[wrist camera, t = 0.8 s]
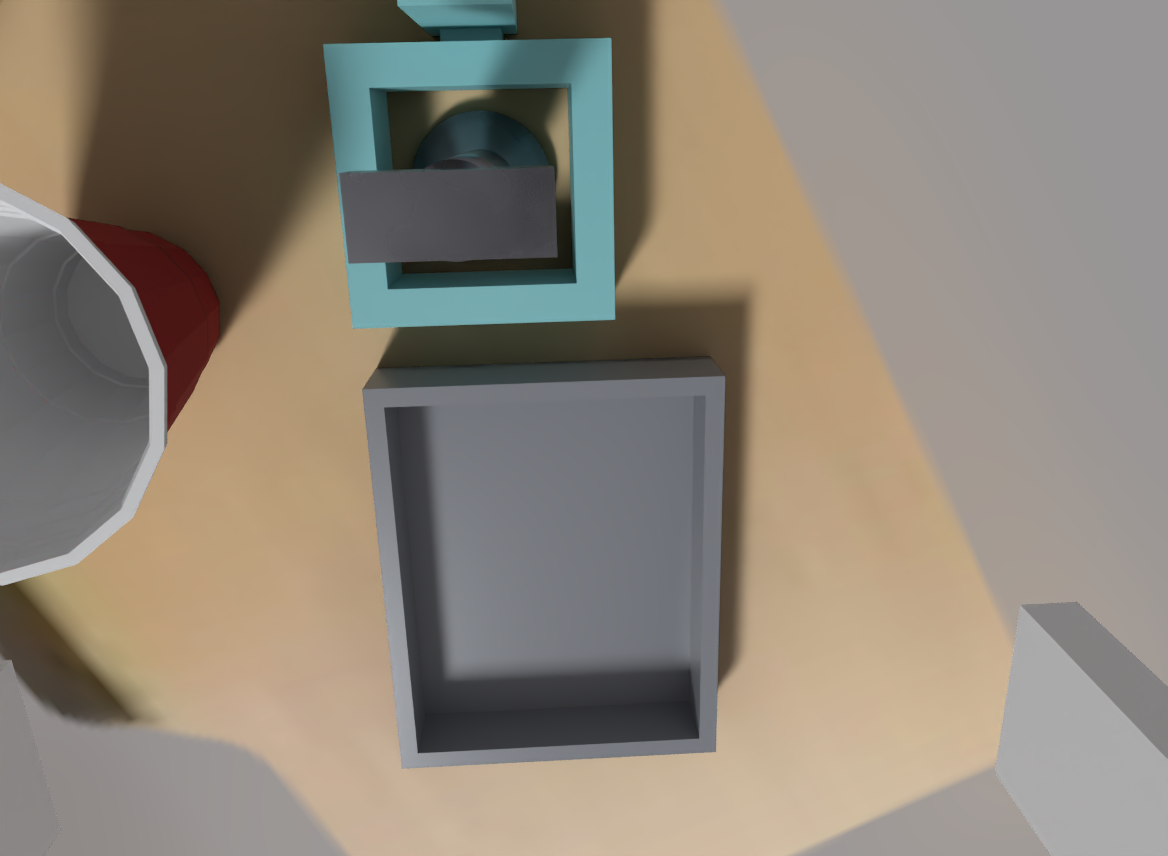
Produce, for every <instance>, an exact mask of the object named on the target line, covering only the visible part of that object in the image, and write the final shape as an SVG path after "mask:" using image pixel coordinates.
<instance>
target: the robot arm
mask: <svg viewBox="0 0 1168 856" xmlns="http://www.w3.org/2000/svg"><path fill="white" fill-rule="evenodd" d="M995 774H996V775H997V777H998V778H999V780H1000V781H1001V782H1002V784H1003V785H1004V787H1005V789H1006V790H1007V791H1008V793H1009V794H1010V796H1011V797H1012V799H1013V800H1014V802H1015V803H1016V805H1017V806H1018V808H1019V809H1020V811H1021V812H1022V813H1023V815H1024V817H1025V818H1026V820H1027V821H1028V822H1029V824H1030V825H1031V827H1032V828H1033V830H1034V831H1035V833H1036V834H1037V836H1038V837H1039V839H1040V840H1041V842H1042V843H1043V845H1044V846H1045V848H1046V849H1047V851H1048V852H1049V853H1050V855H1051V856H1168V686H1166V685H1165V684H1164V683H1163V682H1162V681H1161V680H1160V679H1159V678H1158V677H1157V676H1156V675H1155V674H1153V673H1152V671H1150V670H1149V669H1148V668H1147V667H1146V666H1145V665H1144V664H1143V663H1142V662H1141V661H1140V660H1139V659H1138V658H1136V657H1135V656H1134V655H1133V654H1132V653H1131V652H1130V651H1129V650H1128V649H1127V648H1126V647H1125V646H1124V645H1123V644H1122V643H1120V642H1119V641H1118V640H1117V639H1116V638H1115V637H1114V636H1113V635H1112V634H1111V633H1110V632H1109V631H1108V630H1107V629H1105V628H1104V627H1103V626H1102V625H1101V624H1100V623H1099V622H1098V621H1097V620H1096V619H1095V618H1094V617H1093V616H1092V615H1090V614H1089V613H1088V612H1087V611H1086V610H1085V609H1084V608H1083V607H1082V606H1081V605H1080V604H1079V603H1078V602H1067V603H1049V604H1029V605H1020V612H1019V618H1018V625H1017V631H1016V638H1015V644H1014V651H1013V657H1012V664H1011V670H1010V677H1009V683H1008V690H1007V696H1006V703H1005V709H1004V716H1003V723H1002V729H1001V736H1000V742H999V749H998V755H997V762H996V768H995ZM60 831H61V828H60V825H59V822H58V818H57V815H56V811H55V808H54V804H53V802H52V798H51V794H50V791H49V787H48V784H47V781H46V777H45V774H44V770H43V767H42V764H41V760H40V757H39V753H38V750H37V746H36V743H35V739H34V736H33V733H32V729H31V726H30V722H29V719H28V716H27V712H26V709H25V705H24V702H23V698H22V695H21V691H20V688H19V685H18V681H17V678H16V674H15V671H14V667H13V664H12V661H11V660H3V661H0V856H44V855H45V854H46V852H47V850H48V849H49V848H50V846H51V845H52V843H53V841H54V840H55V838H56V837H57V835H58V834H59V832H60Z"/></svg>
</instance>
